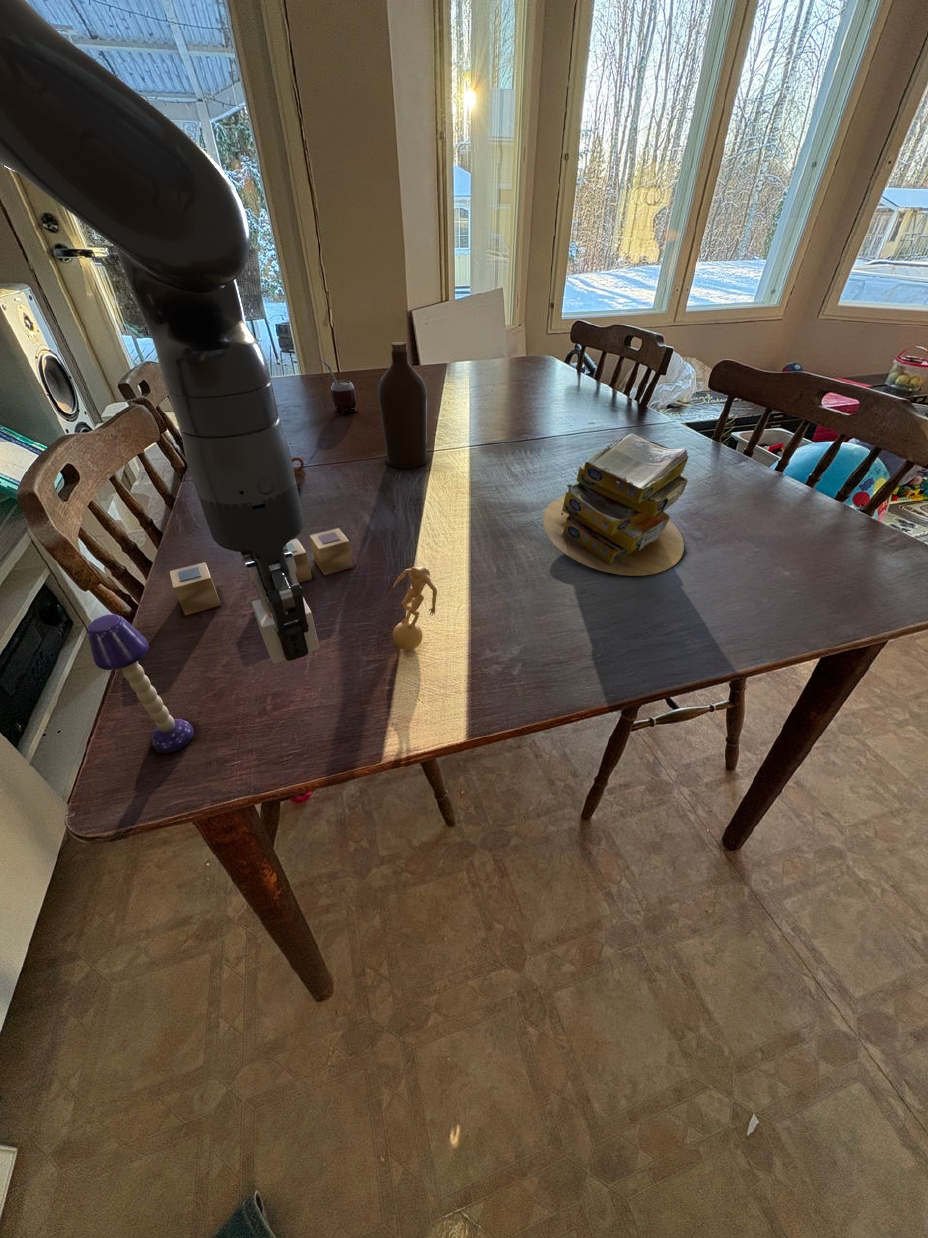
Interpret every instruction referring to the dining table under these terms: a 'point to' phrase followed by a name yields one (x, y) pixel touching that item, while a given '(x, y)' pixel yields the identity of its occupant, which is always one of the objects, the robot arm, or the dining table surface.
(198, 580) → the block row
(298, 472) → the cup and saucer
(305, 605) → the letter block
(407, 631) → the figurine
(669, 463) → the stacked food boxes
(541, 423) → the dining table surface
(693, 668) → the dining table surface
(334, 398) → the mate gourd
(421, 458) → the olive oil
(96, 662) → the toy lamp
